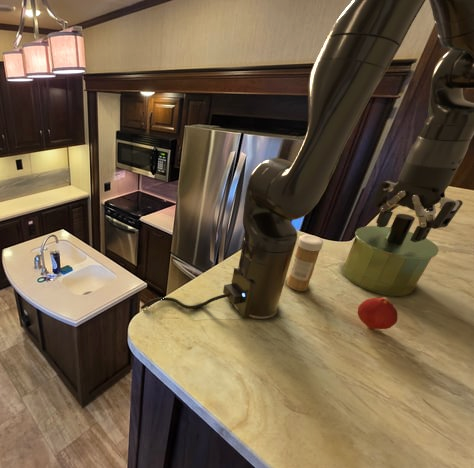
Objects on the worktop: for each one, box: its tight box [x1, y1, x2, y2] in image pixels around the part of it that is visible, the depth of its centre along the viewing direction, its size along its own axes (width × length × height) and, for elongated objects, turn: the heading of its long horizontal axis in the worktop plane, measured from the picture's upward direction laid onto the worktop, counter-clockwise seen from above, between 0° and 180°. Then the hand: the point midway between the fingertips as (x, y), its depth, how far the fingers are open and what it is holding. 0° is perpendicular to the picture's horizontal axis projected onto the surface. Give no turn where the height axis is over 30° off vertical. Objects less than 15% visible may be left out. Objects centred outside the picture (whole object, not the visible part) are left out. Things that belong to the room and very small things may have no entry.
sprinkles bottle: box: [286, 234, 324, 292], centre depth 68 cm, size 5×5×13 cm
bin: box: [342, 236, 432, 297], centre depth 69 cm, size 13×13×10 cm
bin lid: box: [354, 213, 439, 259], centre depth 65 cm, size 14×14×7 cm
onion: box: [357, 296, 398, 330], centre depth 57 cm, size 6×6×8 cm
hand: (397, 233), depth 65 cm, fingers open, 6 cm apart
